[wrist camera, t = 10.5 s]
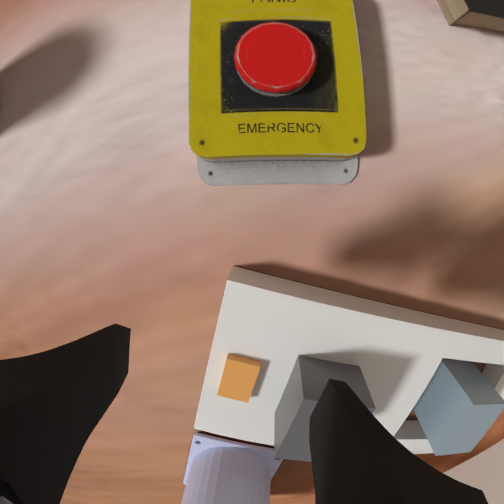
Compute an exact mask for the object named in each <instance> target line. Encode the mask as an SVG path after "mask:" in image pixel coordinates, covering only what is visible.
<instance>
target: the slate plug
mask: <svg viewBox="0 0 504 504" xmlns="http://www.w3.org/2000/svg"><path fill="white" fill-rule="evenodd" d="M503 409H504V400H503V398H502V397H501V396H500V395H499V393H498V392H497V391H496V390H495V388H494V387H493V386H492V385H491V384H490V382H489V381H488V380H487V379H486V378H485V376H484V375H483V374H482V373H481V372H480V371H479V369H478V368H477V367H476V366H475V365H474V364H473V362H465V361H457V360H449V359H442V360H441V362H440V364H439V366H438V368H437V370H436V371H435V373H434V375H433V377H432V378H431V380H430V382H429V383H428V385H427V387H426V388H425V390H424V392H423V393H422V395H421V397H420V398H419V400H418V401H417V403H416V404H415V406H414V408H413V410H414V412H415V414H416V416H417V418H418V420H419V422H420V424H421V427H422V429H423V431H424V433H425V435H426V437H427V439H428V441H429V443H430V446H431V448H432V450H433V452H434V454H435V456H439V455H449V454H458V453H466V452H471V451H472V449H473V448H474V447H475V446H476V445H477V443H478V442H479V441H480V440H481V438H482V437H483V436H484V435H485V433H486V432H487V431H488V429H489V428H490V427H491V425H492V424H493V423H494V421H495V420H496V419H497V417H498V416H499V414H500V413H501V412H502V410H503Z"/></svg>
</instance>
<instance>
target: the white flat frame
mask: <svg viewBox="0 0 504 504" xmlns="http://www.w3.org/2000/svg"><path fill="white" fill-rule="evenodd" d="M298 355H302V356H307V357H312V358H317V359H322V360H327V361H333V362H339V363H344V364H350V365H356V366H360V369H361V371H362V374H363V376H364V379H365V381H366V384H367V387H368V389H369V392H370V394H371V397H372V400H373V402H374V405H375V408H376V409H375V410H374V412H373V413H372V414H373V415H374V416H375V418H376V419H377V420H378V421H379V422H380V423H381V424H382V425H383V426H384V427H385V428H386V429H387V430H388V431H389V433H390V434H391V435H392V436H393V437H394V438H396V439H397V440H398V441H399V442H400V443H401V444H402V445H403V446H405V447H406V448H407V449H408V450H409V451H410V452H412V453H413V454H427V453H434V452H433V450H432V448H431V446H430V443H429V441H428V439H427V437H426V435H425V433H424V431H423V429H422V427H421V424H420V422H419V421H416V420H405V419H406V418H407V417H408V415H409V414H410V412H411V411H412V409H413V408H414V406H415V404H416V403H417V401H418V400H419V398H420V397H421V395H422V393H423V392H424V390H425V388H426V387H427V385H428V383H429V382H430V380H431V378H432V377H433V375H434V373H435V371H436V370H437V368H438V366H439V364H440V362H441V360H442V359H443V358H448V359H455V360H463V361H472V362H481V363H487V364H486V366H485V368H484V369H483V371H482V374H483V375H484V376H485V378H486V379H487V380H488V381H489V382H490V384H491V385H492V386H493V387H494V388H495V390H496V391H497V392H498V393H499V395H500V396H501V397H502V398H503V400H504V330H501V329H496V328H492V327H487V326H482V325H478V324H473V323H469V322H464V321H460V320H455V319H451V318H446V317H442V316H437V315H433V314H429V313H424V312H420V311H415V310H411V309H407V308H402V307H398V306H394V305H390V304H385V303H381V302H377V301H373V300H368V299H364V298H360V297H356V296H352V295H348V294H343V293H339V292H335V291H331V290H327V289H323V288H319V287H315V286H311V285H307V284H303V283H299V282H295V281H291V280H287V279H283V278H279V277H275V276H271V275H267V274H263V273H259V272H255V271H251V270H247V269H243V268H239V267H235V266H233V267H232V270H231V272H230V275H229V277H228V280H227V284H226V288H225V292H224V296H223V301H222V305H221V309H220V313H219V318H218V322H217V326H216V331H215V335H214V339H213V344H212V348H211V353H210V357H209V361H208V366H207V370H206V375H205V379H204V384H203V388H202V393H201V397H200V402H199V406H198V411H197V415H196V420H195V425H194V429H198V430H202V431H206V432H209V433H214V434H218V435H222V436H226V437H231V438H236V439H240V440H245V441H250V442H256V443H261V444H267V445H273V446H274V424H275V411H276V409H277V406H278V404H279V402H280V399H281V397H282V394H283V392H284V390H285V387H286V385H287V382H288V380H289V377H290V375H291V372H292V370H293V367H294V365H295V362H296V360H297V357H298Z"/></svg>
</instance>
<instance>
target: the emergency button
mask: <svg viewBox="0 0 504 504" xmlns="http://www.w3.org/2000/svg"><path fill="white" fill-rule="evenodd" d="M189 143H190V146H191V149H192V151H193V152H194V153H195V154H196V155H197V168H198V172H199V176H200V178H201V179H202V180H203V181H204V182H205V183H206V184H209V185H213V186H220V185H252V184H346V183H349V182H351V181H352V179H353V178H354V177H355V176H356V173H357V168H358V154H359V153H360V152H361V151H362V150H363V149H364V148H365V144H366V116H365V99H364V86H363V74H362V64H361V54H360V46H359V38H358V30H357V23H356V17H355V10H354V4H353V0H191V4H190V29H189Z"/></svg>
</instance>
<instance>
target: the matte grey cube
mask: <svg viewBox="0 0 504 504" xmlns="http://www.w3.org/2000/svg"><path fill="white" fill-rule="evenodd" d="M329 379H334V380H340V381H345V382H346V383H347V384H348V385H349V387H350V388H351V389H352V390H353V391H354V393H355V394H356V395H357V396H358V397H359V399H360V400H361V401H362V402H363V403H364V405H365V406H366V407H367V408H368V409H369V411H370V412H371V413H373V412H374V410H375V409H376V408H375V405H374V402H373V400H372V397H371V394H370V392H369V389H368V387H367V384H366V381H365V379H364V376H363V374H362V371H361V369H360V366H356V365H350V364H344V363H339V362H333V361H327V360H322V359H317V358H312V357H307V356H302V355H298V357H297V360H296V362H295V365H294V367H293V370H292V372H291V375H290V377H289V380H288V382H287V385H286V387H285V390H284V392H283V394H282V397H281V399H280V402H279V404H278V406H277V409H276V411H275V424H274V458H281V459H289V460H297V461H306V462H312V461H311V452H310V444H309V422H310V416H311V414H312V412H313V410H314V408H315V406H316V404H317V402H318V400H319V398H320V396H321V394H322V392H323V390H324V388H325V386H326V384H327V382H328V380H329Z"/></svg>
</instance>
